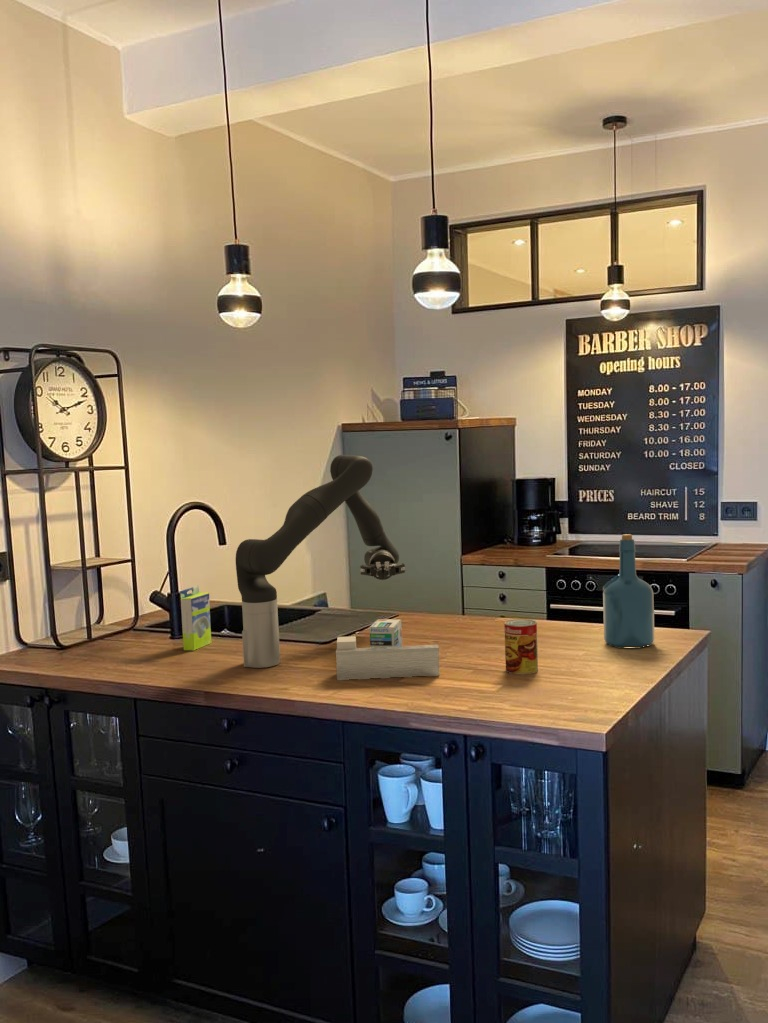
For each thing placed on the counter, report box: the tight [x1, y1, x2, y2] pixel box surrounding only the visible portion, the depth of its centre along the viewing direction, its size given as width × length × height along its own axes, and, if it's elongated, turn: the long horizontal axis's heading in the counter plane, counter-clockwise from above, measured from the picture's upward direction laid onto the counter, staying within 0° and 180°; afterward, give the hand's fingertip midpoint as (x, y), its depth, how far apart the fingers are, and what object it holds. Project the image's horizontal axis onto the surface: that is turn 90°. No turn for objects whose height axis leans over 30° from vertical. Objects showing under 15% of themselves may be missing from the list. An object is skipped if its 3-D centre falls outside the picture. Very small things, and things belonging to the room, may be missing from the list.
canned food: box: [504, 618, 539, 675], centre depth 223 cm, size 8×8×12 cm
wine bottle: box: [602, 533, 655, 648], centre depth 246 cm, size 14×13×30 cm
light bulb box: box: [368, 618, 403, 648], centre depth 236 cm, size 11×7×11 cm, turn 168°
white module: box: [336, 635, 357, 649], centre depth 226 cm, size 5×6×9 cm
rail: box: [335, 644, 440, 681], centre depth 224 cm, size 25×9×7 cm, turn 91°
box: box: [179, 585, 212, 651], centre depth 265 cm, size 10×4×17 cm, turn 161°
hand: (383, 573), depth 245 cm, fingers closed
